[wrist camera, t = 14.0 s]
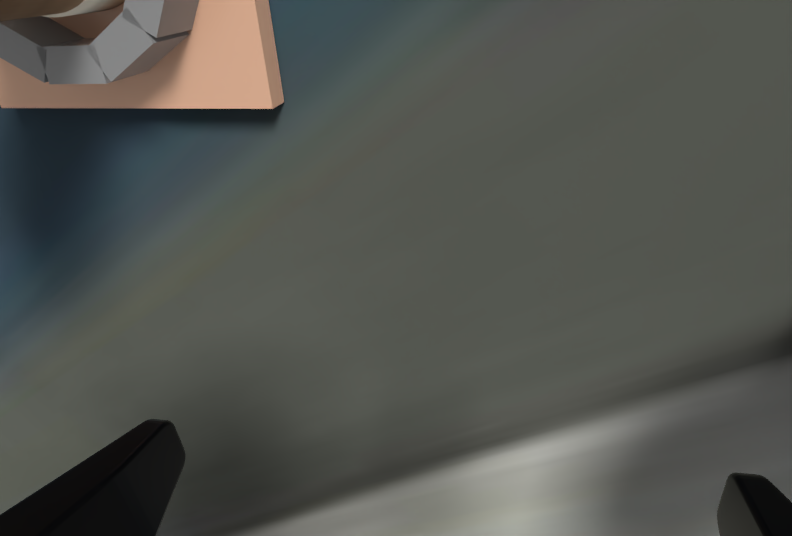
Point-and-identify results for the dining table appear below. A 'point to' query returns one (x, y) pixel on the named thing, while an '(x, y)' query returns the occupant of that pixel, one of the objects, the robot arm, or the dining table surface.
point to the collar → (144, 57)
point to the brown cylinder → (52, 8)
